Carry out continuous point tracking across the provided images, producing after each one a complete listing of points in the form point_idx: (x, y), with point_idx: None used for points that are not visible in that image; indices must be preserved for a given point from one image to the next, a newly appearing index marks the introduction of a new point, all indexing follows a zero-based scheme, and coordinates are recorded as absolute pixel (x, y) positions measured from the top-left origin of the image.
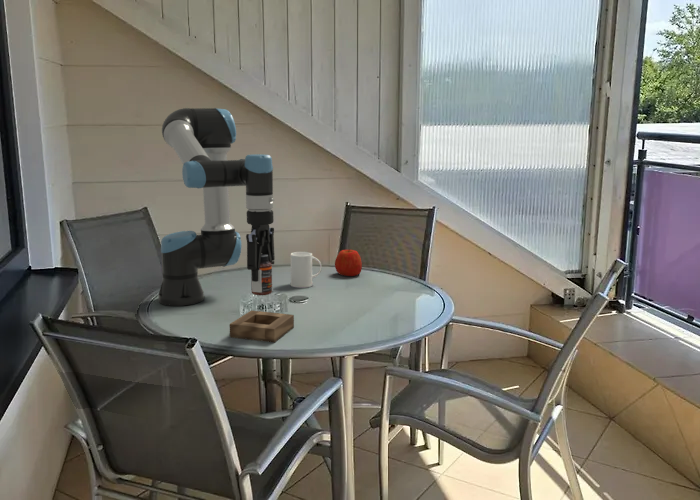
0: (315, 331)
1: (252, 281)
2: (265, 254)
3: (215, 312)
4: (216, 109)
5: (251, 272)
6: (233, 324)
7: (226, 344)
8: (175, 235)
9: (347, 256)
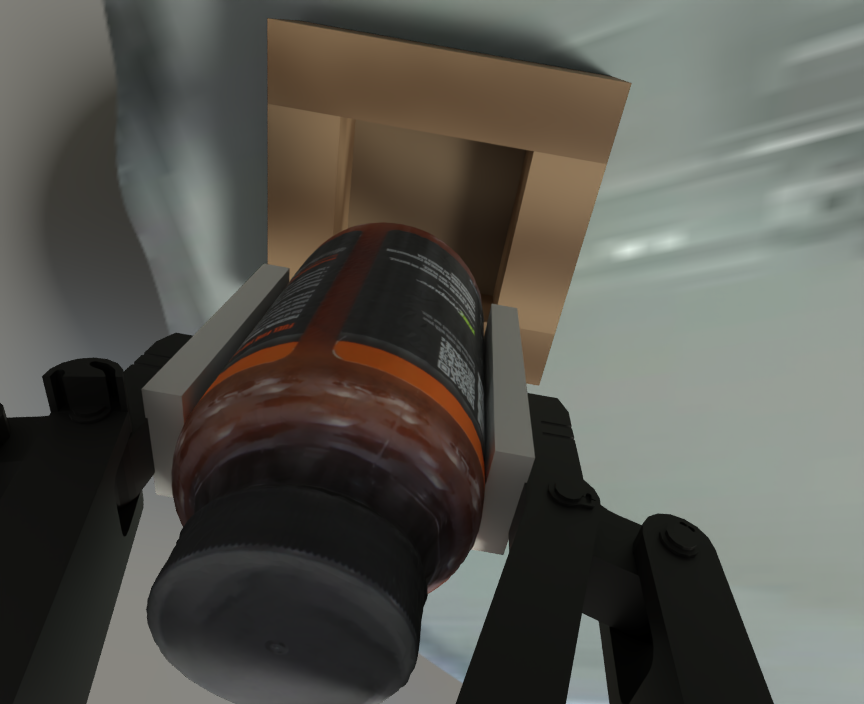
0: None
1: (218, 317)
2: (381, 687)
3: None
4: None
5: (165, 365)
6: (268, 55)
7: (181, 45)
8: None
9: None
